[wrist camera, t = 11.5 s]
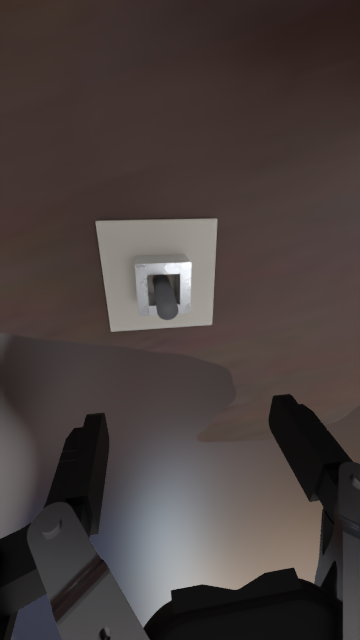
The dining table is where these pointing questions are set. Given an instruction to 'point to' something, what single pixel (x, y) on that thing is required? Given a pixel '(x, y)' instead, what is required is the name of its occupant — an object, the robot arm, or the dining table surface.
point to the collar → (159, 266)
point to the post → (157, 239)
